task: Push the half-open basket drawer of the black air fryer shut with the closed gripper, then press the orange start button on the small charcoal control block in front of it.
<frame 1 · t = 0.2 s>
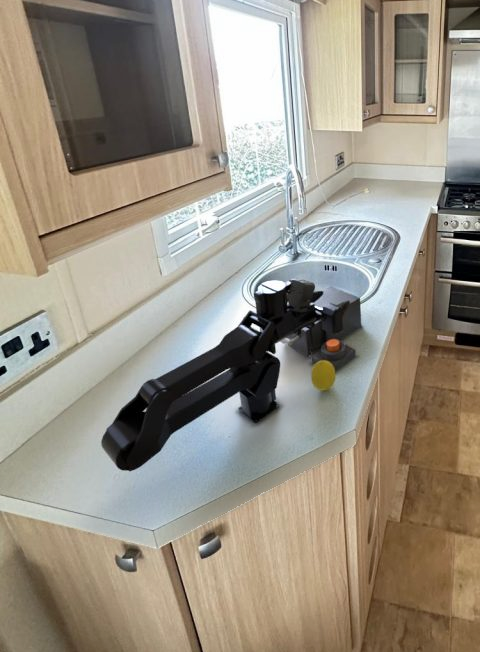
hand: (335, 297, 102), 16 cm above the worktop, tool horizontal, fingers open, 9 cm apart
air fryer: (330, 330, 117), on the worktop
basket: (306, 329, 109), point 5 cm above the worktop, slide at 5.0 cm
control block: (334, 360, 105), on the worktop
lemon: (324, 390, 95), on the worktop
start button: (333, 345, 103), point 4 cm above the worktop, slide at 0.1 cm
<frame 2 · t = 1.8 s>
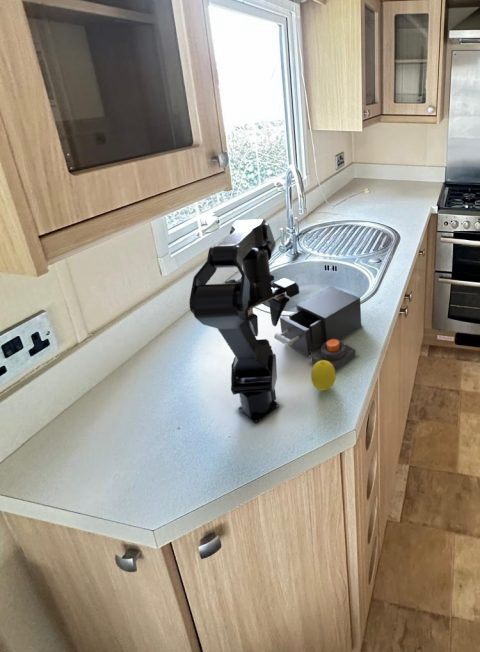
hand: (265, 330, 98), 11 cm above the worktop, tool pointing down, fingers open, 5 cm apart
nothing on the worktop moved.
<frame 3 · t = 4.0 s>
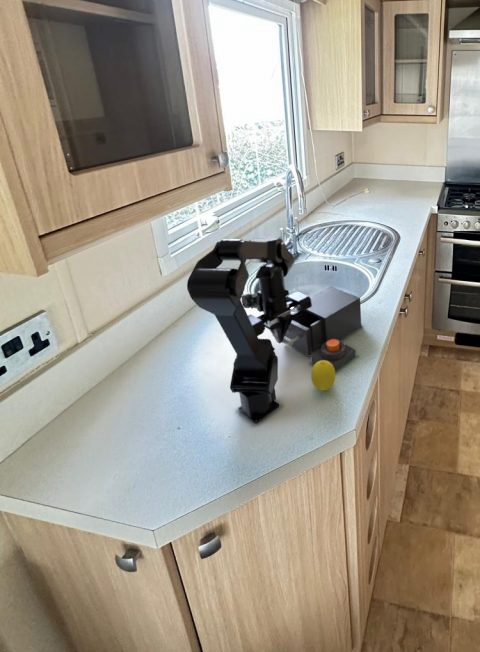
hand: (279, 342, 103), 6 cm above the worktop, tool pointing down, fingers closed
basket: (306, 329, 109), point 5 cm above the worktop, slide at 4.9 cm, touching gripper
everything else where it was.
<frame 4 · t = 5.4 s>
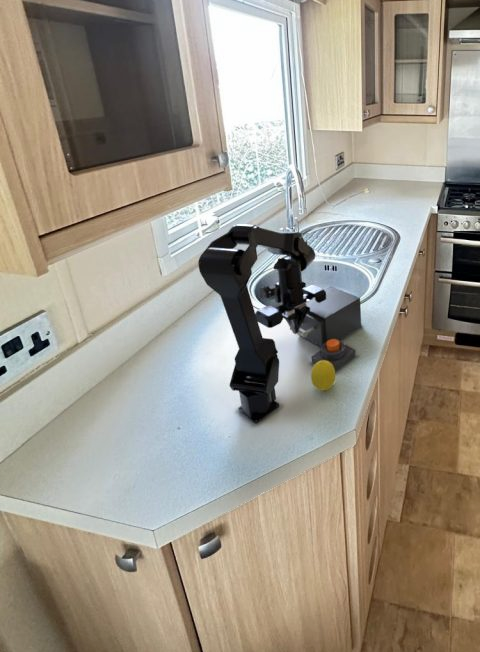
hand: (295, 333, 107), 6 cm above the worktop, tool pointing down, fingers closed
basket: (319, 321, 113), point 5 cm above the worktop, slide at 0.0 cm, touching air fryer, gripper
everything else where it was.
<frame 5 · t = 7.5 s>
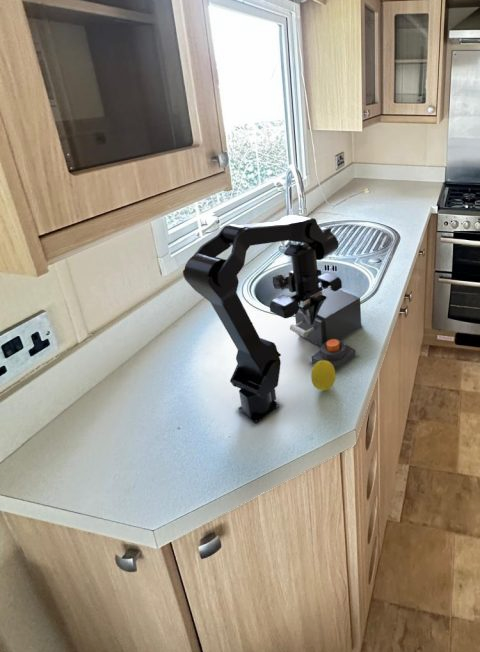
hand: (310, 323, 102), 11 cm above the worktop, tool pointing down, fingers closed
basket: (319, 321, 113), point 5 cm above the worktop, slide at 0.0 cm
everything else where it was.
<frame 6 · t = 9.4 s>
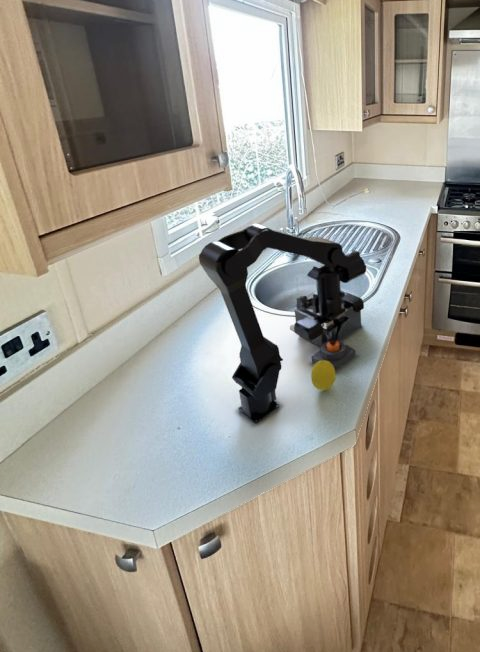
hand: (332, 344, 103), 5 cm above the worktop, tool pointing down, fingers closed, pressing on start button
start button: (333, 346, 103), point 4 cm above the worktop, slide at -0.3 cm, touching gripper
everything else where it was.
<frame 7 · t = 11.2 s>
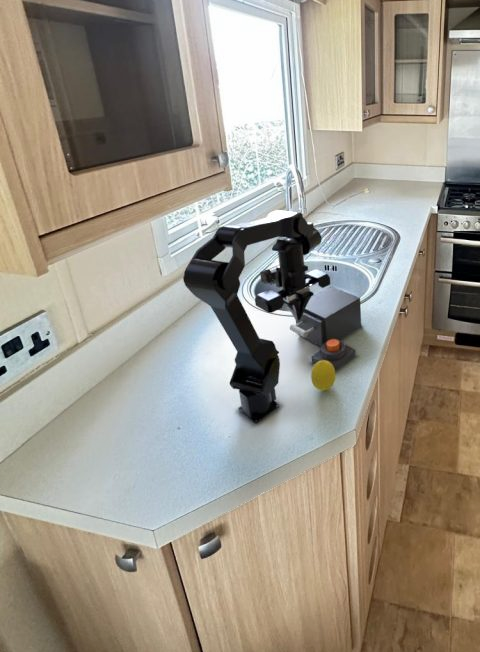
hand: (297, 319, 101), 12 cm above the worktop, tool pointing down, fingers closed
start button: (333, 345, 103), point 4 cm above the worktop, slide at 0.1 cm
everything else where it was.
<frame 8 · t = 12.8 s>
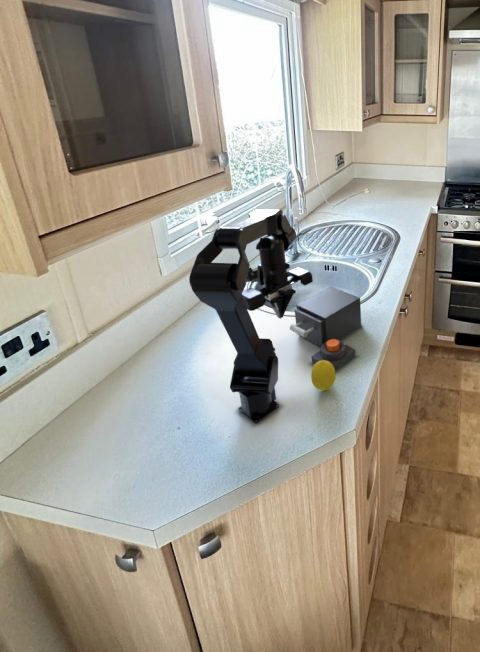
hand: (280, 317, 102), 12 cm above the worktop, tool pointing down, fingers closed
nothing on the worktop moved.
at the end: basket slide at 0.0 cm; start button pushed in 1.1 cm at the most during the clip, back to where it started at the end; start button slide at 0.1 cm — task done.
